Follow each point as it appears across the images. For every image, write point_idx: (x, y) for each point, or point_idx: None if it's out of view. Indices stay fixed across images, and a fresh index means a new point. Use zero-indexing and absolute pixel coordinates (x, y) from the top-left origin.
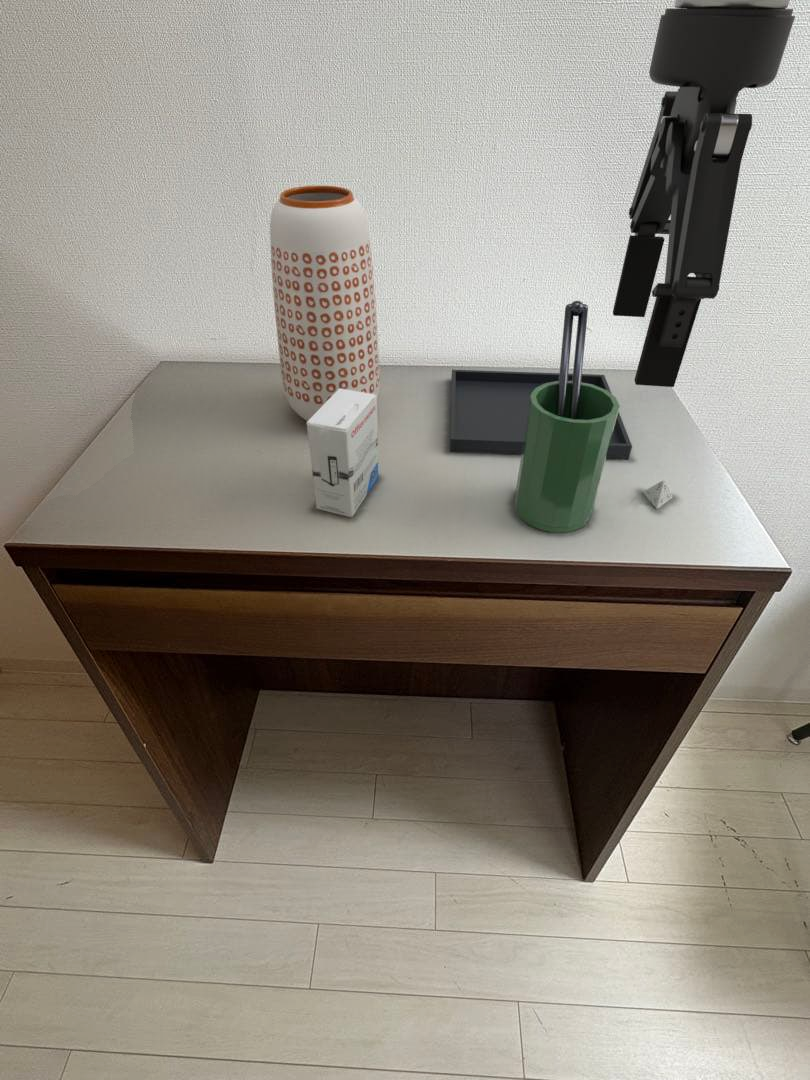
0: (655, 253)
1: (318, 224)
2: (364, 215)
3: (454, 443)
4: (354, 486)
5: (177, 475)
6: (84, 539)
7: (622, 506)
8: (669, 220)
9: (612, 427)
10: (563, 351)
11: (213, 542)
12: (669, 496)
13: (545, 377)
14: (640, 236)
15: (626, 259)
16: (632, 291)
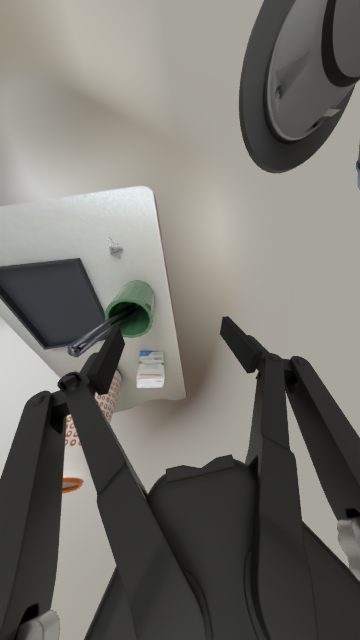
0: (104, 365)
1: (87, 467)
2: None
3: None
4: (160, 358)
5: (156, 389)
6: (183, 391)
7: (126, 265)
8: (59, 386)
9: (138, 297)
10: (102, 337)
11: (179, 373)
12: (111, 240)
13: (12, 306)
14: (97, 389)
15: (113, 376)
16: (117, 349)
